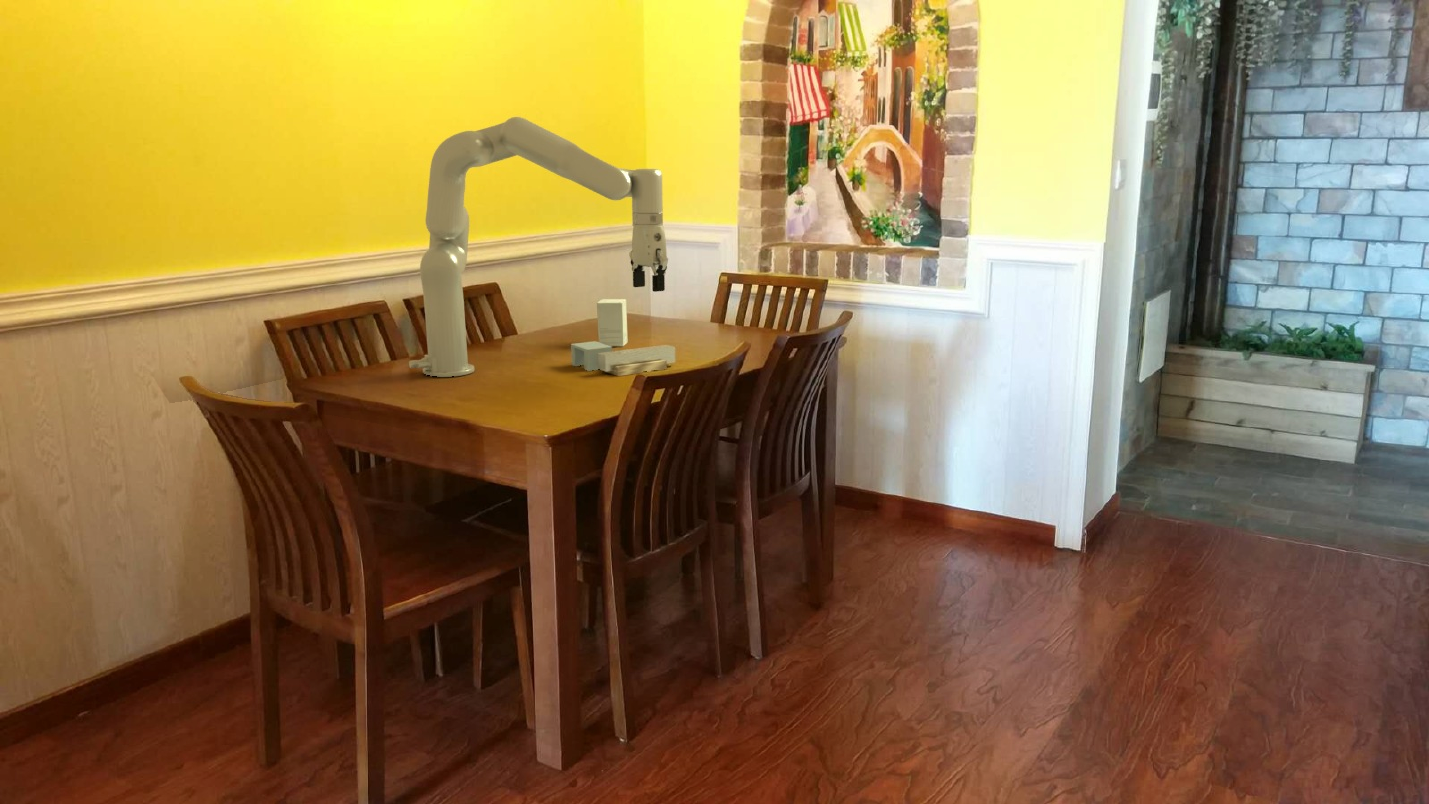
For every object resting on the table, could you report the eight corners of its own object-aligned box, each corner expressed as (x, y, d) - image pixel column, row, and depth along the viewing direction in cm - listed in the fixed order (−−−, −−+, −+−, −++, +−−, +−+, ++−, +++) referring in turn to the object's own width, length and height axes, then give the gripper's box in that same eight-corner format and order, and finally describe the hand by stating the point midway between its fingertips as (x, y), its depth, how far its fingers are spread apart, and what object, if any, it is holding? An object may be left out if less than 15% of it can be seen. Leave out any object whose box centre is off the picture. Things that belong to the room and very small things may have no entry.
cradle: (618, 376, 256) (617, 367, 255) (602, 370, 262) (602, 361, 262) (666, 369, 263) (666, 360, 263) (650, 363, 270) (650, 355, 269)
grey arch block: (588, 371, 262) (587, 349, 260) (571, 364, 269) (570, 344, 268) (612, 367, 265) (612, 346, 264) (595, 361, 273) (595, 341, 272)
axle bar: (605, 371, 256) (605, 355, 255) (598, 368, 260) (597, 353, 259) (675, 362, 267) (675, 347, 266) (667, 359, 270) (667, 344, 269)
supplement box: (628, 342, 300) (627, 298, 297) (623, 347, 293) (622, 302, 290) (603, 341, 301) (601, 298, 298) (597, 346, 294) (596, 302, 291)
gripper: (678, 221, 252) (679, 291, 256) (643, 217, 266) (644, 284, 270) (652, 222, 248) (653, 294, 252) (617, 218, 262) (619, 286, 266)
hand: (648, 288), depth 261 cm, fingers open, 9 cm apart
